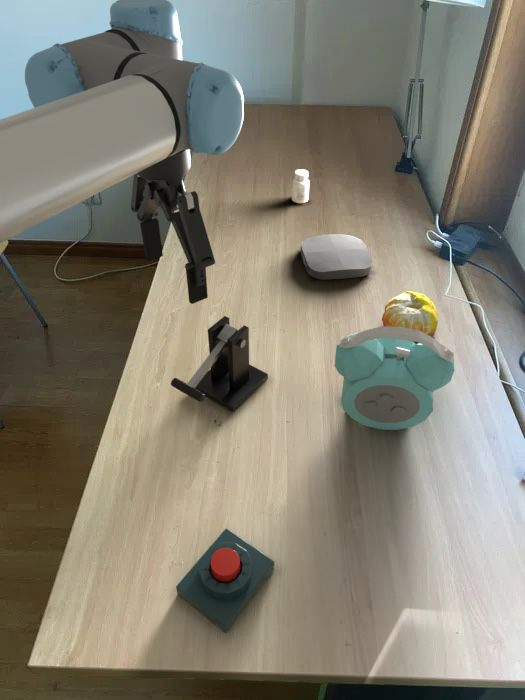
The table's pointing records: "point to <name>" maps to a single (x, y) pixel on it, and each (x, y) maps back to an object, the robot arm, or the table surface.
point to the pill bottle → (300, 186)
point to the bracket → (231, 370)
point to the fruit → (411, 313)
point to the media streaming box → (335, 256)
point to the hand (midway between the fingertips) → (175, 277)
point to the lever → (204, 366)
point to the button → (225, 565)
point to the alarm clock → (391, 376)
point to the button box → (225, 597)
